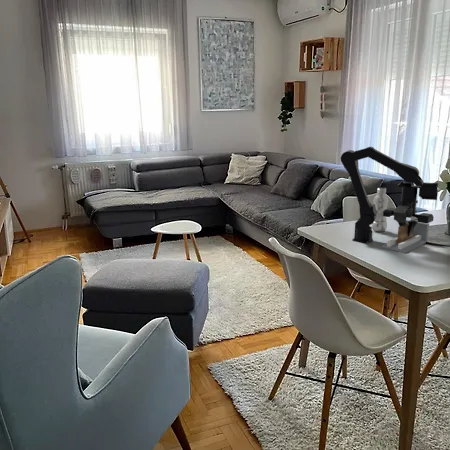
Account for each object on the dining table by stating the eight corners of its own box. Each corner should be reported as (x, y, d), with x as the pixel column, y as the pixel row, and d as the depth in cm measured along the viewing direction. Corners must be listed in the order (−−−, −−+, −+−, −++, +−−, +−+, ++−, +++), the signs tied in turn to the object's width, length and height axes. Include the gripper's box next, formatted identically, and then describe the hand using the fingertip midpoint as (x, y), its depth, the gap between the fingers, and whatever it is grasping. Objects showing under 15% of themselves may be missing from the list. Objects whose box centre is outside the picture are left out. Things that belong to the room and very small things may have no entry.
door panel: (397, 243, 179) (398, 226, 178) (408, 238, 186) (409, 222, 184) (401, 244, 178) (403, 227, 176) (412, 239, 185) (414, 223, 183)
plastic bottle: (389, 232, 202) (393, 188, 196) (377, 233, 199) (380, 190, 194) (380, 228, 207) (383, 186, 202) (368, 230, 205) (371, 187, 200)
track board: (381, 247, 180) (383, 228, 177) (404, 237, 193) (405, 219, 191) (405, 252, 172) (407, 233, 170) (427, 242, 186) (429, 223, 184)
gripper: (377, 198, 179) (374, 235, 183) (423, 204, 166) (419, 244, 170) (390, 194, 186) (387, 230, 190) (435, 200, 173) (431, 238, 177)
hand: (405, 235), depth 182 cm, fingers closed on door panel, 2 cm apart
